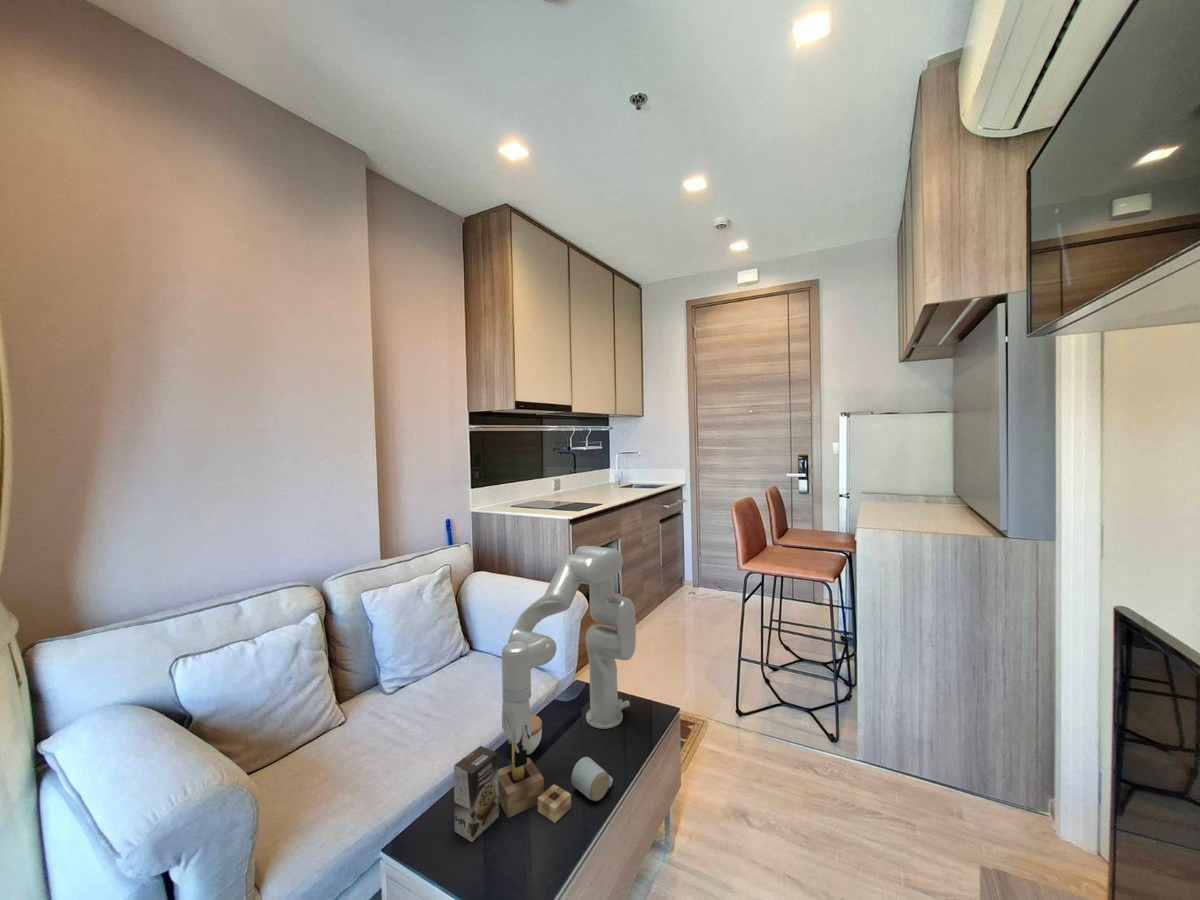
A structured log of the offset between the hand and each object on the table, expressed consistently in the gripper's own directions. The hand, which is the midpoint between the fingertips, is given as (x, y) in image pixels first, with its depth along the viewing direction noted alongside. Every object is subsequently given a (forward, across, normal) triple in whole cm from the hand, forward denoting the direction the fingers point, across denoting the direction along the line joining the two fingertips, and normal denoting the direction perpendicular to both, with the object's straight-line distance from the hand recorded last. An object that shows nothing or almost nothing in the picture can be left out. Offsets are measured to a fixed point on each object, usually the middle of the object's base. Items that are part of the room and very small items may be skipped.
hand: (517, 760), depth 120 cm
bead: (+10, 0, 0) cm, 10 cm away
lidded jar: (+10, -18, +9) cm, 23 cm away
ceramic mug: (+10, +8, +18) cm, 23 cm away
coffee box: (+10, +2, -12) cm, 16 cm away
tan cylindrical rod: (+4, 0, 0) cm, 4 cm away
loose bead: (+10, +9, +6) cm, 15 cm away
